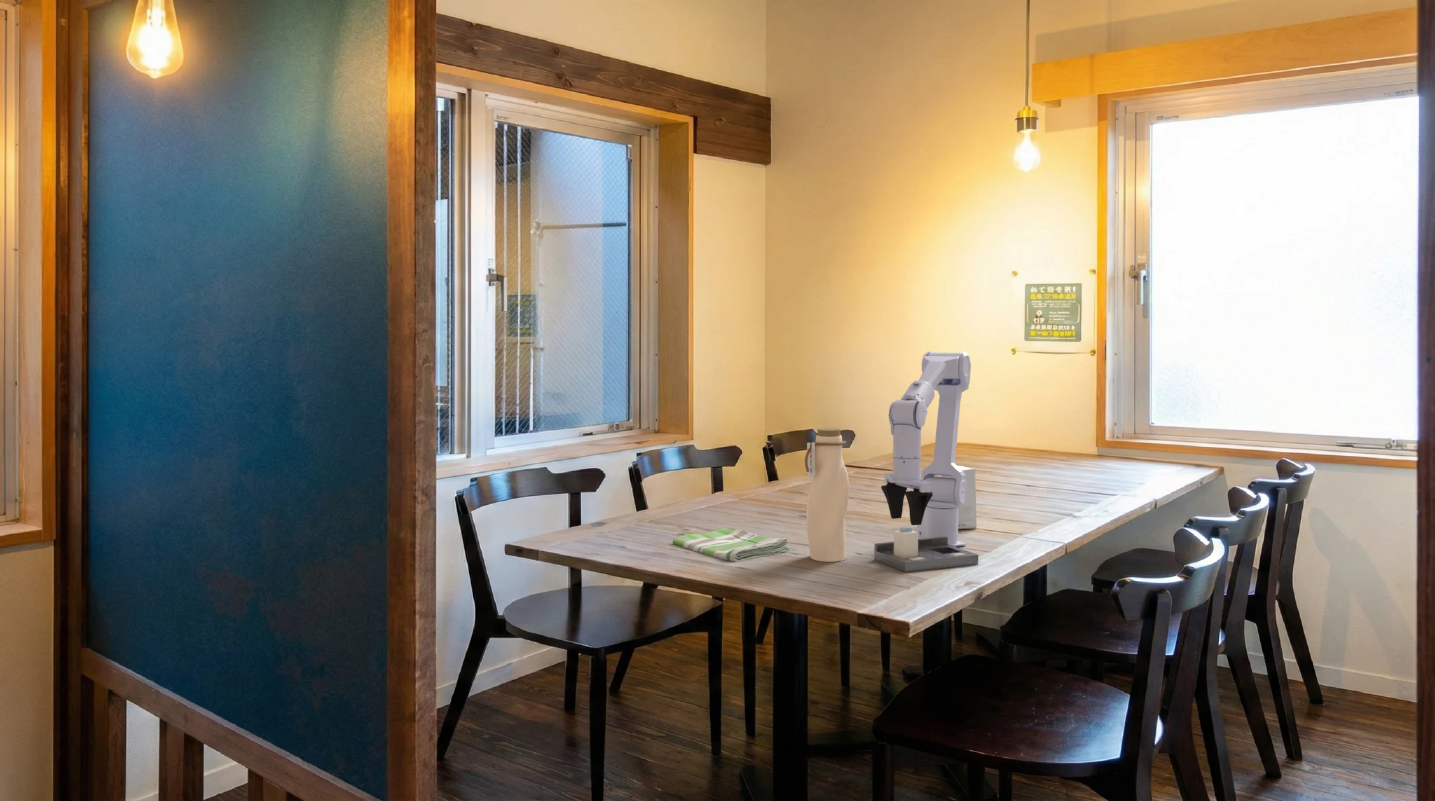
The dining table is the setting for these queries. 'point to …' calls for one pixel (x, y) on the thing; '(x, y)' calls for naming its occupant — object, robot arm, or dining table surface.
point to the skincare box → (967, 501)
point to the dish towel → (732, 544)
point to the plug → (905, 542)
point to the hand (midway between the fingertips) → (906, 521)
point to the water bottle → (827, 496)
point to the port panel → (926, 555)
